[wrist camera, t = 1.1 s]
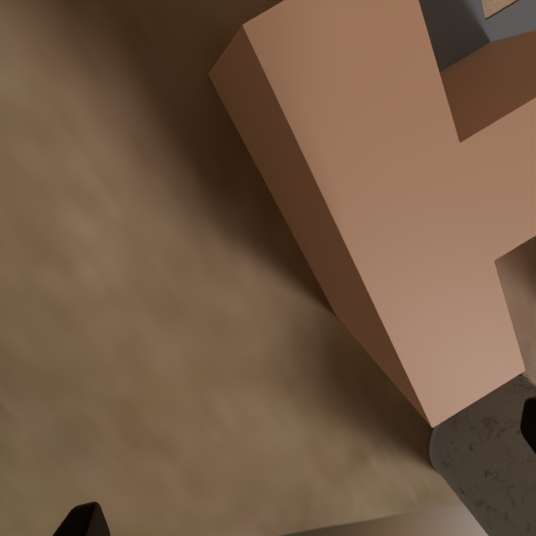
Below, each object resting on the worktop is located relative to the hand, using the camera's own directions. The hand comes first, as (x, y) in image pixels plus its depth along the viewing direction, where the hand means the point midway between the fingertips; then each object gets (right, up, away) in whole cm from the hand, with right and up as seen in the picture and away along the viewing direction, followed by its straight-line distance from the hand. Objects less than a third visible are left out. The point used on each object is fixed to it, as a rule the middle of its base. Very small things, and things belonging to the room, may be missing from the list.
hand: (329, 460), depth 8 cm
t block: (+5, +10, +12) cm, 16 cm away
